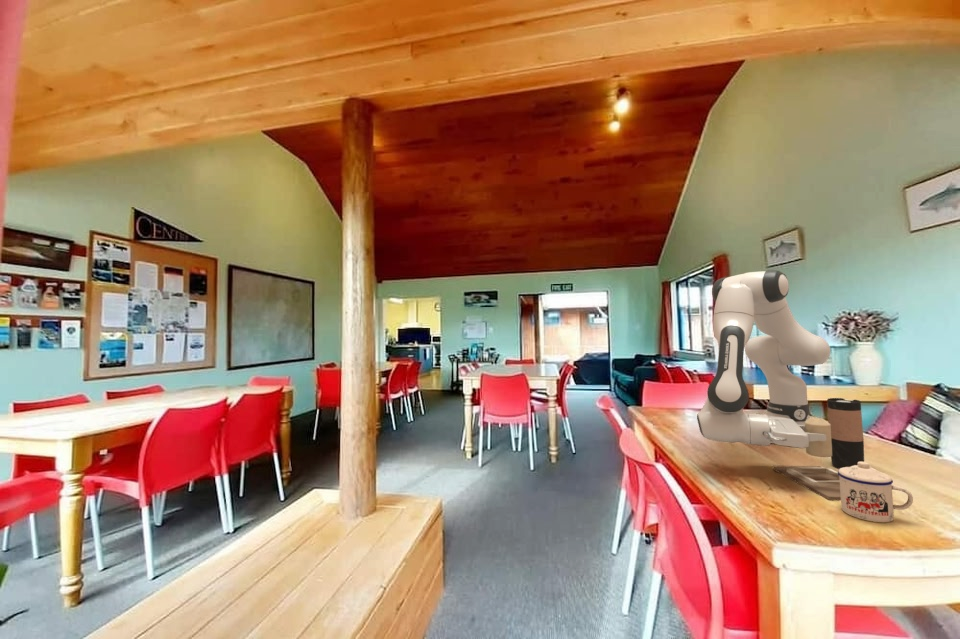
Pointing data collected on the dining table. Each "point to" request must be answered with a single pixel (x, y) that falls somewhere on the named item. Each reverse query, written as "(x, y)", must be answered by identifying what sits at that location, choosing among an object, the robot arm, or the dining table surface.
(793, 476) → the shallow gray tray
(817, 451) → the candle
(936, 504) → the dining table surface
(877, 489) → the teacup with lid
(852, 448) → the travel mug
